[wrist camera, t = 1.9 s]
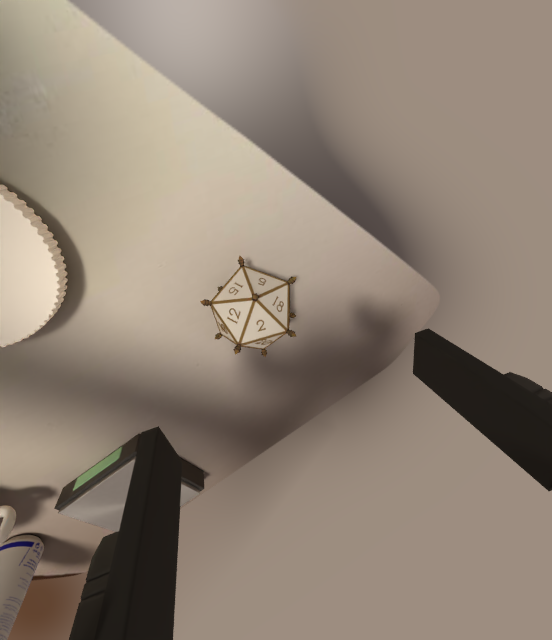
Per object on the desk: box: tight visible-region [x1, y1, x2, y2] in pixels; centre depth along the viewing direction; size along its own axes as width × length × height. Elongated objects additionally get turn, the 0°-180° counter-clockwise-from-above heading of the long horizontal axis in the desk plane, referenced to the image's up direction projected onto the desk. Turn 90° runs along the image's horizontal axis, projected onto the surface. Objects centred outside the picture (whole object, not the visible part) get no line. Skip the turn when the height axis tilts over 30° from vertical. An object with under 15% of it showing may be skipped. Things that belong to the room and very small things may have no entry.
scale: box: [54, 434, 204, 510], centre depth 34 cm, size 12×12×2 cm
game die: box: [200, 256, 296, 357], centre depth 24 cm, size 9×8×10 cm
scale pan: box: [58, 455, 200, 532], centre depth 33 cm, size 11×11×1 cm
